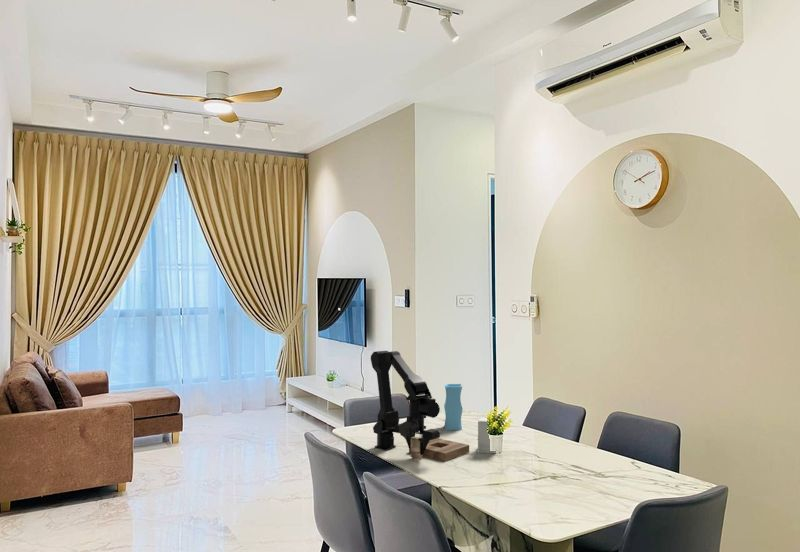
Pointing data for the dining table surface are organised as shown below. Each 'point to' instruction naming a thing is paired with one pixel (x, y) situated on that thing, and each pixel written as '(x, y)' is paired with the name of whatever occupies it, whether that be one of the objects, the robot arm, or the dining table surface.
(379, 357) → the robot arm
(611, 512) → the dining table surface
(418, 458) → the beech peg
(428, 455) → the walnut board
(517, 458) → the dining table surface
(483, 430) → the supplement box
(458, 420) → the vase
